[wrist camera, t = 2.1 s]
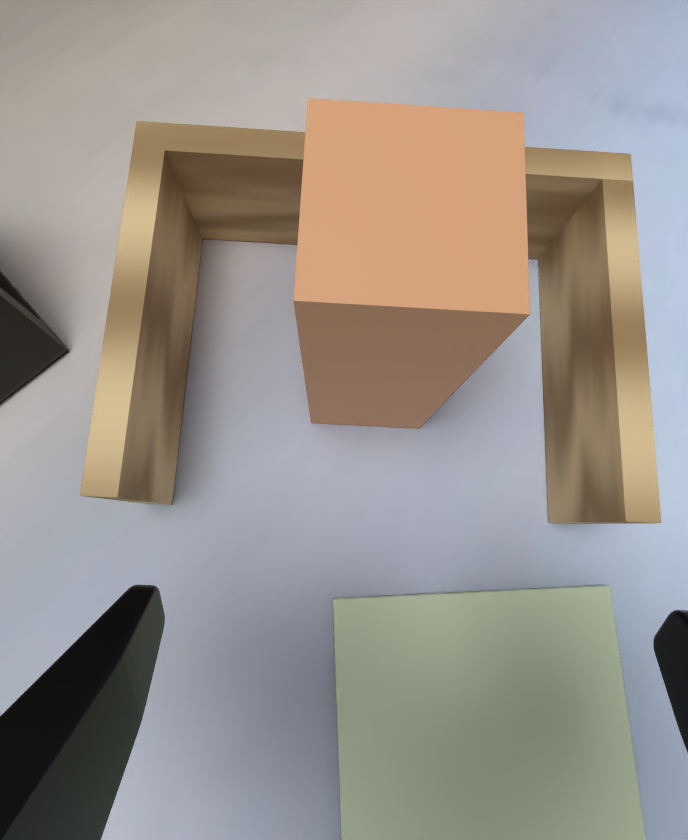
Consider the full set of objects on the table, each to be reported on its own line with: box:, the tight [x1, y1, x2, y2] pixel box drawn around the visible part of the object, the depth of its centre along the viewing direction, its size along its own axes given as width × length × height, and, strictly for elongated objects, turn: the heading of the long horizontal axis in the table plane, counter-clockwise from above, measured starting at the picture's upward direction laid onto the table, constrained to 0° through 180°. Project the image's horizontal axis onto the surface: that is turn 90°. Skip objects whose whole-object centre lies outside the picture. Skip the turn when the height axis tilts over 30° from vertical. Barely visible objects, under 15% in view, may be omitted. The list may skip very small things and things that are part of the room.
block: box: [294, 98, 530, 429], centre depth 17 cm, size 5×5×13 cm
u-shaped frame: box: [80, 121, 661, 524], centre depth 21 cm, size 14×19×6 cm
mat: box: [333, 585, 646, 840], centre depth 21 cm, size 12×12×1 cm
